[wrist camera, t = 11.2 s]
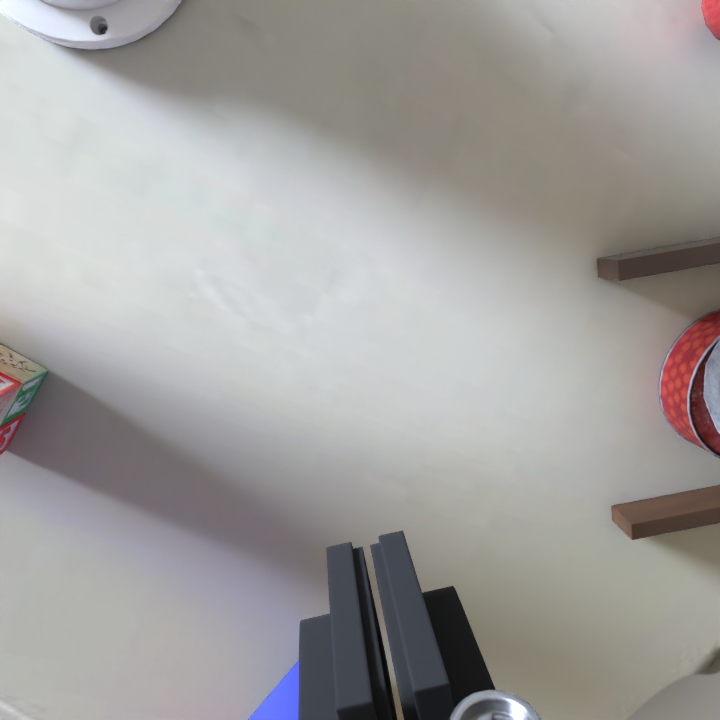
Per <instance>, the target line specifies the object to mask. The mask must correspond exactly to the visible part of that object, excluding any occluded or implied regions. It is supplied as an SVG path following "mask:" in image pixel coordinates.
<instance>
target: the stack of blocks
mask: <svg viewBox="0 0 720 720" xmlns="http://www.w3.org/2000/svg"><path fill="white" fill-rule="evenodd" d="M47 372H48V370H47V369H46V368H44V367H42V366H40V365H38V364H36V363H35V362H33V361H31V360H29V359H27V358H25V357H23V356H22V355H20V354H18V353H16V352H14V351H12V350H10V349H9V348H7V347H5V346H2V345H1V344H0V454H2V453H3V452H4V451H5V450H6V448H7V447H8V445H9V443H10V441H11V439H12V438H13V436H14V434H15V432H16V430H17V428H18V427H19V425H20V423H21V421H22V419H23V417H24V415H25V411H26V409H27V408H28V406H29V404H30V403H31V401H32V399H33V397H34V395H35V394H36V392H37V390H38V388H39V386H40V385H41V383H42V381H43V379H44V377H45V376H46V374H47Z"/></svg>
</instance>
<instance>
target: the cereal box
mask: <svg viewBox="0 0 720 720" xmlns="http://www.w3.org/2000/svg"><path fill="white" fill-rule="evenodd" d="M298 699H299V661H298V662H297V663H296V665H295V666H294V667H293V668H292V669H291V670H290V672H289V673H288V674H287V675H286V676H285V677H284V679H283V680H282V681H281V682H280V683H279V684H278V686H277V687H276V688H275V689H274V690H273V691H272V693H271V694H270V695H269V696H268V697H267V698H266V700H265V701H264V702H263V703H262V704H261V705H260V707H259V708H258V709H257V710H256V711H255V712H254V714H253V715H252V716H251V717H250V718H249V719H248V720H298Z"/></svg>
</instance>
